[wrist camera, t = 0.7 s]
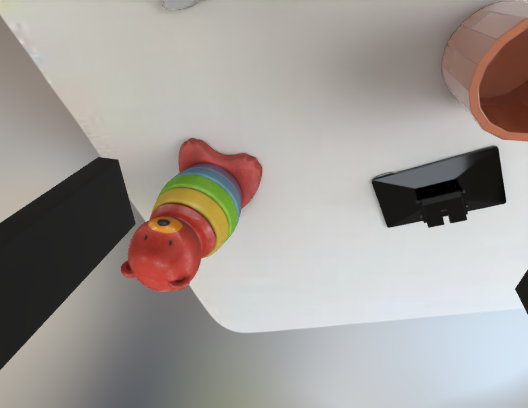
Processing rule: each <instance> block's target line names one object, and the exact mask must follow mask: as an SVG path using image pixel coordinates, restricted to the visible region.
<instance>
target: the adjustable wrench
mask: <svg viewBox="0 0 528 408" xmlns="http://www.w3.org/2000/svg"><path fill="white" fill-rule="evenodd" d="M199 1H200V0H165V1H164V3H163V5H162V6H163V7H164V8H165V9H166V10H177V9H184V8H188V7H191V6H193V5H194V4H196V3H197V2H199Z"/></svg>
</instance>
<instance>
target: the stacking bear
mask: <svg viewBox="0 0 528 408" xmlns="http://www.w3.org/2000/svg"><path fill="white" fill-rule="evenodd" d="M179 172H180V173H179V174H178V175H176V176H175V177H174V178H172V179H171V180H170V181H169V182H168V183H167V184H166V185H165V186H164V188H163V189H162V191H161V193H160V194H159V196H158V198H157V201H156V203H155V205H154V208H153V210H152V213H151V217H150V220H149V221H147V222H145V223H144V224H142V225H141V226H140V227H139V228H138V229H137V231H136V232H135V234H134V235H133V237H132V239H131V242H130V245H129V250H128V261H126V262H125V263H124V264H122V266H121V272H122V274H123V275H124V276H126V277H128V278H137V279H138V280H139V281H140V282H141V283H142V284H143V285H145V286H146V287H148V288H150V289H152V290H155V291H159V292H169V291H174V290H182V289H184V288H186V287H187V286H188V284H189V283H190V281H191V280H192V279H193V277H194V276H195V274H196V273H197V271H198V268H199V265H200V261H201V258H205V257H208V256H210V255H212V254H213V253H214V252H216V251H217V250H218V249H219V248H220V247H221V246H222V244H223V243H224V242H225V241H226V240H227V239H228V238H229V237H230V236H231V234H232V233H233V231H234V229H235V227H236V225H237V223H238V220H239V217H240V212H241V209H242V208H243V207H244V206H245V205H246V204H247V203H248V202H249V201H250V200H251V199H252V197H253V196H254V194H255V193H256V191H257V189H258V187H259V184H260V181H261V176H262V167H261V165H260V164H259V163H258V161H257V159H256V158H254V157H251V156H249V155H248V154H238V155H223V154H220V153H218V152H216V151H214V150H213V149H212V148H210V147H209V146H208V145H207V144H206V143H205V142H203V141H201V140H196V139H189V140H188V141H187V142H184V143H183V144H182V146H181V148H180V152H179Z"/></svg>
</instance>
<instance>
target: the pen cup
mask: <svg viewBox="0 0 528 408" xmlns="http://www.w3.org/2000/svg"><path fill="white" fill-rule="evenodd" d="M442 74H443V78H444V81H445V84H446V85H447V87H448V88H449V89H450V91H451V92H452V93H453V95H454V96H455V97H456V98H457V100H458V101H459V102H460V103H461V104H462V105H463V107H464V108H465V109H466V110H467V111H468V113H469V114H470V115H471V116H472V117H473V118H474V120H475V121H476V122H477V123H478V124H479V125H480V127H481V128H482V129H483V130H485V131H487V132H489V133H491V134H493V135H495V136H497V137H499V138H501V139H504V140H515V141H528V0H510V1H502V2H498V3H495V4H491V5H489V6H487V7H484V8H482V9H481V10H479V11H477V12H476V13H474V14H473V15H471V16H470V17H469V18H467V19H466V20H465V21H464V22H463V23H462V24H461V25H460V26H459V27H458V28H457V30H456V31H455V32H454V34H453V35H452V37H451V38H450V40H449V42H448V44H447V46H446V48H445V51H444V54H443V59H442Z"/></svg>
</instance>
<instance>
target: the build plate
mask: <svg viewBox="0 0 528 408" xmlns="http://www.w3.org/2000/svg"><path fill="white" fill-rule="evenodd" d="M372 184H373V187H374V190H375V193H376V196H377V199H378V201H379V204H380V207H381V210H382V213H383V216H384V218H385V221H386V224H387V227H389V228H390V227H395V226H400V225H404V224H409V223H414V222H419V221H424V223H427V224H428V227H429V228H430V227H435V226H440V225H444V221H443V217H444V216H448V217H449V221H450V223H455V222H460V221H465V220H467V217H466V214H468V213H467V211H471V210H476V209H481V208H486V207H491V206H495V205H500V204H504V203H506V197H505V190H504V183H503V177H502V170H501V163H500V157H499V150H498V147H497V146H491V147H488V148H484V149H481V150H477V151H473V152H470V153H466V154H462V155H459V156H455V157H452V158H448V159H444V160H441V161H437V162H433V163H430V164H426V165H423V166H419V167H415V168H412V169H408V170H404V171H401V172H397V173H393V172H389V173H386V174H382V175H378V176H376V177H375V178H374V179H373V180H372Z"/></svg>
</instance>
